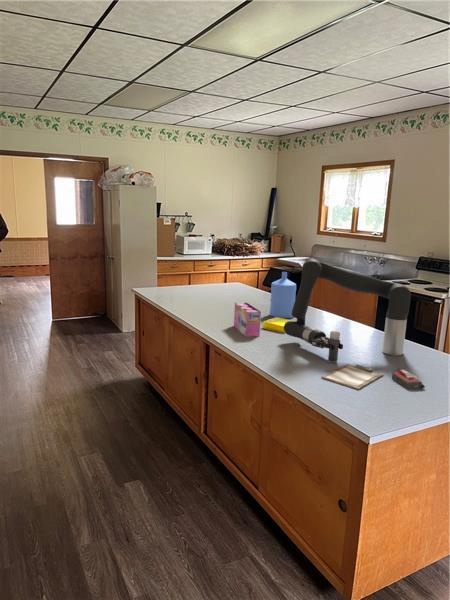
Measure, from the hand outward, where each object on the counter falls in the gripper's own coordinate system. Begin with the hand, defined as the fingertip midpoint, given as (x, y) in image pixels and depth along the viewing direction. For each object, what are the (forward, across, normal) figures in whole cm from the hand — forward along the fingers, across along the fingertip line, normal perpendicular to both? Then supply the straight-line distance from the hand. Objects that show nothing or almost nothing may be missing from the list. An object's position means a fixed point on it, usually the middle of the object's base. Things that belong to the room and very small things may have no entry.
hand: (338, 347), depth 191 cm
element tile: (-60, +9, +8) cm, 61 cm away
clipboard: (+15, -4, +8) cm, 17 cm away
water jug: (-85, +26, +8) cm, 89 cm away
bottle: (-3, 0, +8) cm, 8 cm away
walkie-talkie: (+25, +14, +8) cm, 30 cm away
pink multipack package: (-61, -12, +8) cm, 63 cm away
